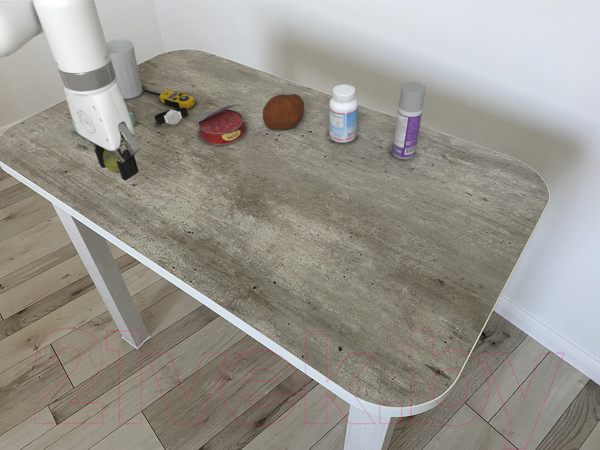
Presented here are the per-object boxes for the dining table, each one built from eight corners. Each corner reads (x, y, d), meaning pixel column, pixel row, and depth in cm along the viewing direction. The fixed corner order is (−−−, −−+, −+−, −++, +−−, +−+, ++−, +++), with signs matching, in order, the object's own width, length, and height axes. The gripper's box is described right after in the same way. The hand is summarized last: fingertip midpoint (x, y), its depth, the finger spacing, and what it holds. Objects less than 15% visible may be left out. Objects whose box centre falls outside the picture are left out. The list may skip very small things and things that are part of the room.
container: (414, 147, 103) (426, 82, 92) (414, 160, 99) (426, 94, 89) (392, 145, 103) (401, 80, 93) (391, 158, 100) (400, 93, 90)
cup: (127, 82, 126) (114, 37, 118) (152, 88, 124) (140, 42, 115) (106, 96, 121) (91, 50, 113) (131, 103, 119) (117, 56, 110)
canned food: (210, 160, 109) (181, 130, 102) (215, 131, 115) (189, 101, 108) (252, 142, 104) (225, 109, 98) (255, 112, 111) (230, 80, 104)
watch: (159, 130, 110) (155, 116, 107) (153, 120, 113) (149, 106, 110) (191, 120, 112) (188, 107, 110) (185, 111, 115) (182, 98, 113)
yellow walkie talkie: (185, 104, 114) (136, 90, 119) (186, 111, 115) (138, 97, 120) (197, 95, 117) (149, 82, 122) (198, 102, 118) (150, 89, 123)
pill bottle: (352, 126, 109) (354, 80, 101) (359, 142, 105) (362, 95, 97) (325, 129, 108) (326, 83, 100) (331, 145, 104) (333, 98, 96)
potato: (313, 122, 111) (313, 92, 105) (282, 143, 105) (280, 113, 100) (286, 110, 115) (285, 80, 109) (254, 129, 109) (251, 99, 104)
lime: (116, 160, 87) (108, 137, 83) (139, 166, 86) (132, 143, 82) (100, 175, 84) (92, 152, 80) (124, 181, 83) (116, 158, 79)
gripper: (32, 67, 73) (72, 162, 86) (103, 101, 66) (135, 200, 79) (74, 49, 78) (106, 143, 90) (145, 80, 70) (169, 177, 83)
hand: (119, 169), depth 85 cm, fingers closed on lime, 5 cm apart
